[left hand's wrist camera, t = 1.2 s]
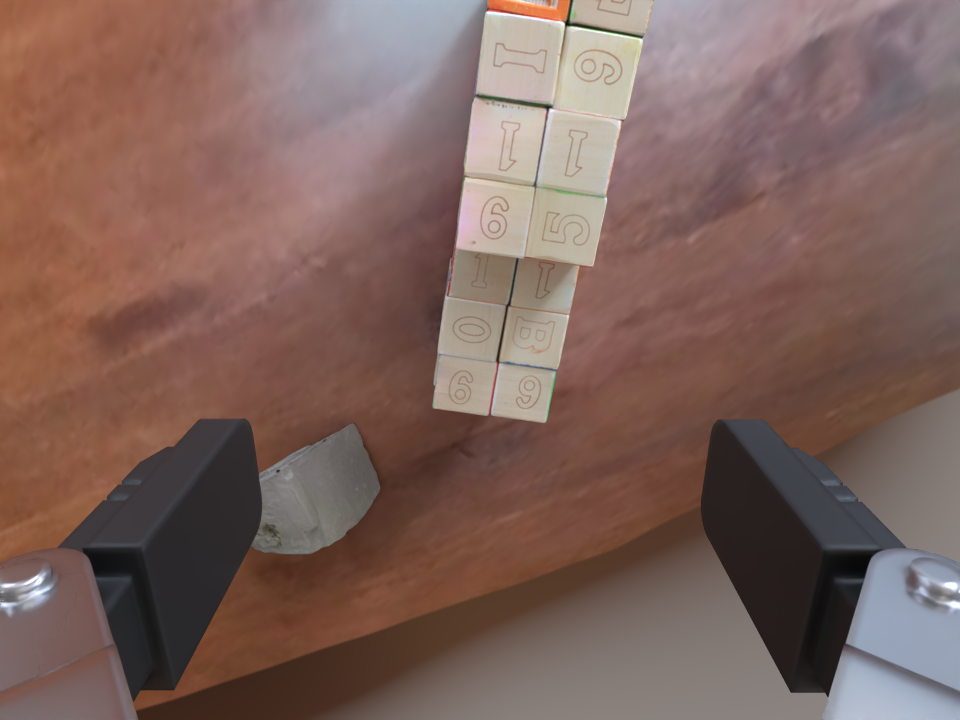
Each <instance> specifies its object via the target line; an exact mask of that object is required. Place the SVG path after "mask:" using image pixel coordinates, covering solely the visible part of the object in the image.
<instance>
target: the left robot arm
mask: <svg viewBox="0 0 960 720" xmlns="http://www.w3.org/2000/svg"><path fill="white" fill-rule="evenodd" d="M842 483H843V482H842V481H841V480H840V479H839V478H838V477H837V476H836V475H835V474H834V473H833V472H832V471H831V470H830V469H829V468H828V467H827V466H826V465H825V464H824V463H822V462H820V461H819V460H817V459H815V458H813V457H812V456H810V455H808V454H806V453H805V452H803V451H801V450H799V449H798V448H790V447H789V446H788V445H787V444H786V443H785V442H784V441H783V440H782V439H781V437H780V436H779V435H778V434H777V433H776V432H775V431H774V430H773V429H772V428H771V427H770V426H769V424H768V423H767V422H765V421H764V420H717V421H716V422H715V424H714V425H713V428H712V431H711V436H710V443H709V450H708V457H707V463H706V470H705V477H704V484H703V491H702V498H701V514H702V521H703V526H704V529H705V532H706V535H707V537H708V539H709V540H710V542H711V544H712V546H713V548H714V550H715V552H716V554H717V555H718V557H719V559H720V561H721V563H722V565H723V567H724V569H725V570H726V572H727V574H728V576H729V578H730V580H731V582H732V583H733V585H734V587H735V589H736V591H737V593H738V595H739V596H740V598H741V600H742V602H743V604H744V606H745V608H746V610H747V611H748V613H749V615H750V617H751V619H752V621H753V623H754V625H755V626H756V628H757V630H758V632H759V634H760V636H761V638H762V639H763V641H764V643H765V645H766V647H767V649H768V651H769V653H770V655H771V656H772V658H773V660H774V662H775V664H776V666H777V667H778V669H779V671H780V673H781V675H782V677H783V679H784V681H785V683H786V684H787V686H788V688H789V690H790V692H791V693H826V695H827V697H828V701H827V704H826V707H825V711H824V714H823V718H822V720H960V563H958V562H956V561H954V560H952V559H949V558H946V557H944V556H941V555H938V554H934V553H931V552H927V551H922V550H917V549H909V548H906V547H905V546H904V545H903V544H902V543H901V542H900V541H899V540H898V539H897V538H896V536H895V535H894V534H893V533H892V532H891V531H890V530H889V529H888V528H887V527H886V526H885V525H884V524H883V523H882V522H881V521H880V520H879V519H878V518H877V517H876V516H875V515H874V514H873V513H872V512H871V511H870V510H869V509H868V508H867V507H866V506H865V505H864V504H863V503H862V502H858V498H857V497H856V496H855V495H854V493H853V492H852V491H851V490H850V489H849V488H848V487H847V486H843V484H842ZM261 516H262V494H261V487H260V480H259V473H258V466H257V459H256V452H255V445H254V439H253V432H252V428H251V425H250V423H249V422H248V421H247V420H246V419H200V420H198V421H197V422H196V423H195V424H194V426H193V427H192V428H191V429H190V430H189V431H188V432H187V433H186V434H185V435H184V436H183V438H182V439H181V440H180V441H179V442H178V443H177V444H176V445H175V446H174V447H166V448H164V449H163V450H161V451H159V452H157V453H156V454H154V455H152V456H150V457H149V458H147V459H145V460H143V461H142V462H140V463H139V464H138V465H137V466H136V467H135V468H134V469H133V470H132V471H131V472H130V473H129V474H128V475H127V476H126V477H125V478H124V479H123V480H122V485H118V486H117V487H116V488H115V489H114V490H113V491H112V492H111V493H110V494H109V495H108V496H107V500H103V501H102V502H101V503H100V504H99V505H98V506H97V507H96V508H95V509H94V510H93V511H92V512H91V513H90V515H89V516H88V517H87V518H86V519H85V520H84V521H83V522H82V523H81V524H80V525H79V526H78V527H77V528H76V529H75V530H74V531H73V532H72V533H71V534H70V535H69V536H68V537H67V538H66V539H65V540H64V541H63V542H62V543H61V544H60V545H59V546H58V548H51V549H43V550H38V551H33V552H29V553H26V554H22V555H19V556H16V557H14V558H11V559H8V560H6V561H4V562H2V563H0V720H138V718H137V714H136V711H135V707H134V704H133V702H134V700H135V698H136V697H137V695H138V693H139V692H140V690H175V688H176V686H177V684H178V682H179V680H180V678H181V676H182V674H183V673H184V671H185V669H186V667H187V665H188V663H189V661H190V659H191V657H192V655H193V654H194V652H195V650H196V648H197V646H198V644H199V642H200V640H201V638H202V637H203V635H204V633H205V631H206V629H207V627H208V625H209V623H210V621H211V620H212V618H213V616H214V614H215V612H216V610H217V608H218V606H219V604H220V603H221V601H222V599H223V597H224V595H225V593H226V591H227V589H228V587H229V585H230V584H231V582H232V580H233V578H234V576H235V574H236V572H237V570H238V568H239V567H240V565H241V563H242V561H243V559H244V557H245V555H246V553H247V551H248V550H249V548H250V546H251V544H252V542H253V540H254V538H255V536H256V534H257V532H258V529H259V526H260V522H261Z"/></svg>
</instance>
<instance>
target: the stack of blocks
mask: <svg viewBox="0 0 960 720" xmlns="http://www.w3.org/2000/svg"><path fill="white" fill-rule="evenodd" d="M653 1H654V0H488V4H487V12H486V13H485V18H484V27H483V36H482V42H481V49H480V56H479V63H478V70H477V77H476V83H475V90H474V98H473V101H472V107H471V114H470V123H469V130H468V137H467V144H466V151H465V159H464V175H463V182H462V189H461V197H460V204H459V211H458V219H457V230H456V238H455V245H454V252H453V257H452V258H451V259H450V265H449V272H448V279H447V285H446V292H445V298H444V305H443V312H442V321H441V328H440V335H439V342H438V349H437V351H438V354H437V360H436V366H435V373H434V382H433V383H434V386H435V390H434V397H433V404H432V408H435V409H442V410H449V411H456V412H464V413H470V414H477V415H484V416H487V415H493V416H498V417H505V418H512V419H520V420H526V421H534V422H541V423H545V422H546V421H547V418H548V412H549V407H550V403H551V397H552V393H553V388H554V383H555V377H556V370H557V369H558V367H559V363H560V358H561V353H562V349H563V344H564V339H565V334H566V329H567V324H568V319H569V313H570V311H571V307H572V302H573V298H574V293H575V287H576V282H577V277H578V272H579V267H580V266H584V267H593V265H594V261H595V256H596V251H597V246H598V241H599V236H600V232H601V227H602V222H603V217H604V213H605V208H606V203H607V198H606V193H607V189H608V185H609V181H610V177H611V172H612V167H613V162H614V157H615V153H616V148H617V144H618V139H619V134H620V129H621V123H622V122H623V121H624V120H625V118H626V115H627V111H628V106H629V102H630V97H631V93H632V88H633V83H634V79H635V74H636V70H637V66H638V61H639V57H640V53H641V48H642V38H643V36H644V35H645V32H646V30H647V26H648V22H649V17H650V13H651V9H652V5H653Z"/></svg>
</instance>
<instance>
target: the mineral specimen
mask: <svg viewBox="0 0 960 720" xmlns="http://www.w3.org/2000/svg"><path fill="white" fill-rule="evenodd" d="M259 480H260V487H261V494H262V516H261V522H260V526H259V529H258V532H257V534H256V536H255V538H254V540H253V542H252V544H251V546H252V547H253V548H255V549H256V550H260V551H262V552H264V553H269V552H273V553H277V554H311V553H313V552H316V551H317V550H319V549H320V548H322V547H327V546H330V545H331V544H333V543H334V542H335V541H337V540H339V539H341V538H342V537H344V536H345V534H346V532H347V531H348V530H349V529H351V528H353V527H354V526H355V525H356V524H357V523H358V522H359V521H360V520H361V519H362V518H363V516H364V515H365V514H366V512H367V511H368V509H369V508H370V507H371V505H372V503H373V501H374V499H375V498H376V496H377V494H378V493H379V491H380V483H379V480H378V477H377V473H376V471H375V469H374V467H373V465H372V463H371V461H370V459H369V454H368V452H367V451H366V449H365V448H364V446H363V441H362V438H361V436H360V434H359V432H358V430H357V427H356V425H355V424H354V423H351V424H349V425H347V426H346V427H345V428H343V429H341V430H340V431H338V432H336V433H334V434H332V435H330V436H328V437H326V438H324V439H323V440H320V441H319V442H317V443H315V444H314V445H312V446H311V445H308V446H306V447H304V448H302V449H300V450H298V451H296V452H294V453H292V454H290V455H289V456H287V457H286V458H284V459H283V460H281V461H279V462H278V463H276V464H275V465H273V466H271V467H270V468H268V469H267V470H265V471H263V472H262V473H260V474H259Z"/></svg>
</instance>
